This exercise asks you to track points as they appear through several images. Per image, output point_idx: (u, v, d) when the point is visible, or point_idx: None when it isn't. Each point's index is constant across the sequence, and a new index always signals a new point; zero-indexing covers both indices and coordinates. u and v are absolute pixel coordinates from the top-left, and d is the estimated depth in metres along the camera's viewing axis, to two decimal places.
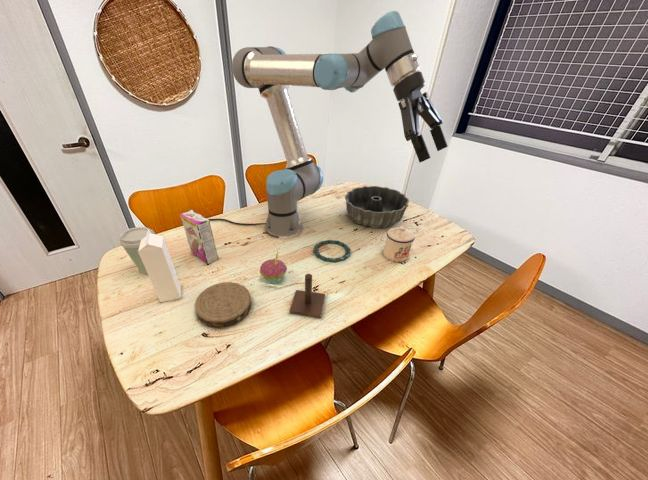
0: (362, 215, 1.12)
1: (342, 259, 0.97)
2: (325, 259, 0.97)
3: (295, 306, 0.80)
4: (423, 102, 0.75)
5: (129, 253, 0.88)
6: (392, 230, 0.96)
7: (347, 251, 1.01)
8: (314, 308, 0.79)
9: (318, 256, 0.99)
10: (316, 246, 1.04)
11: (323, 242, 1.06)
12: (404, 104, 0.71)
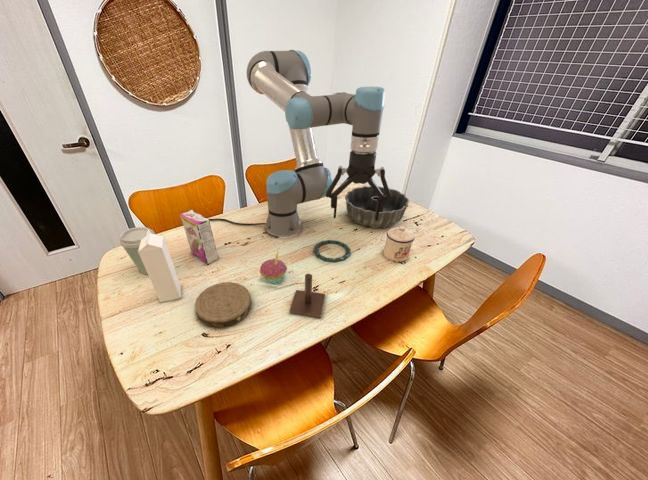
0: (362, 215, 1.12)
1: (342, 259, 0.97)
2: (325, 259, 0.97)
3: (295, 306, 0.80)
4: None
5: (129, 253, 0.88)
6: (392, 230, 0.96)
7: (347, 251, 1.01)
8: (314, 308, 0.79)
9: (318, 256, 0.99)
10: (316, 246, 1.04)
11: (323, 242, 1.06)
12: None
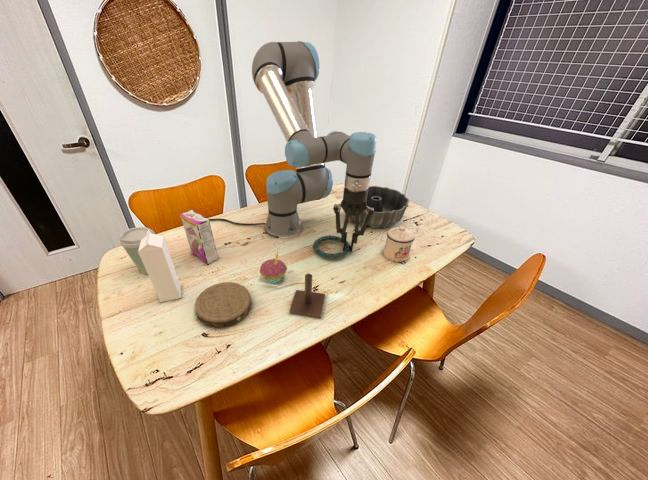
0: (362, 215, 1.12)
1: (342, 255, 0.97)
2: (324, 254, 0.97)
3: (295, 306, 0.80)
4: None
5: (129, 253, 0.88)
6: (392, 230, 0.96)
7: (347, 247, 1.00)
8: (314, 308, 0.79)
9: (317, 251, 0.98)
10: (316, 241, 1.03)
11: (323, 237, 1.05)
12: None
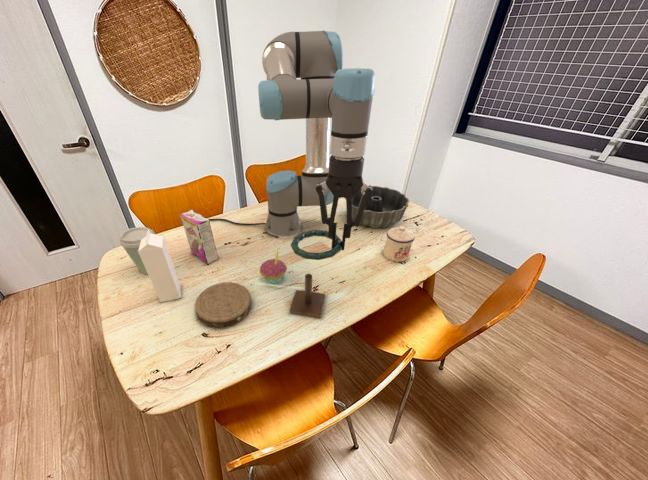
0: (362, 215, 1.12)
1: (329, 254, 0.70)
2: (306, 254, 0.70)
3: (295, 306, 0.80)
4: None
5: (129, 253, 0.88)
6: (392, 230, 0.96)
7: (337, 243, 0.73)
8: (314, 308, 0.79)
9: (296, 251, 0.72)
10: (295, 238, 0.77)
11: (306, 233, 0.79)
12: None
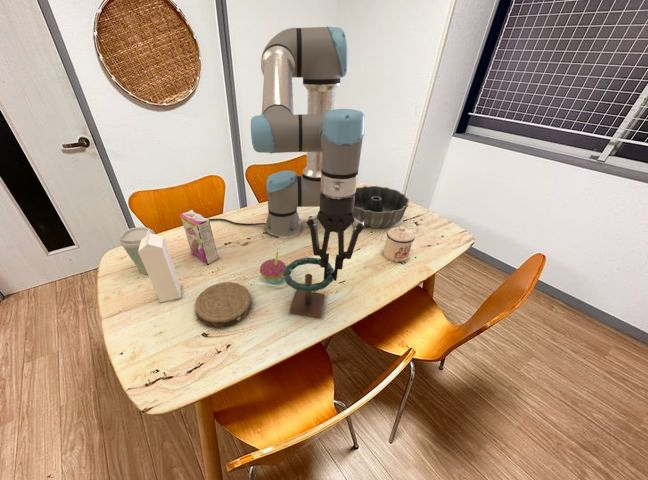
0: (362, 215, 1.12)
1: (321, 286, 0.70)
2: (297, 286, 0.70)
3: (295, 306, 0.80)
4: None
5: (129, 253, 0.88)
6: (392, 230, 0.96)
7: (329, 273, 0.73)
8: (314, 308, 0.79)
9: (288, 282, 0.72)
10: (288, 267, 0.76)
11: (299, 261, 0.79)
12: None
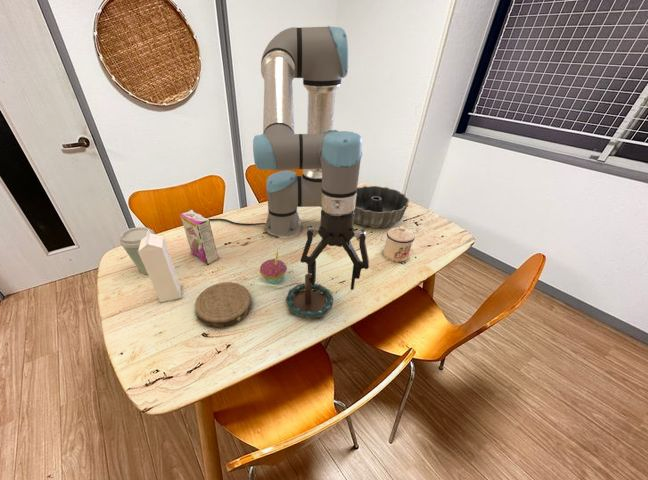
0: (362, 215, 1.12)
1: (320, 313, 0.76)
2: (298, 312, 0.76)
3: None
4: None
5: (129, 253, 0.88)
6: (392, 230, 0.96)
7: (328, 301, 0.79)
8: (314, 308, 0.79)
9: (290, 307, 0.78)
10: (290, 292, 0.83)
11: (300, 286, 0.85)
12: None
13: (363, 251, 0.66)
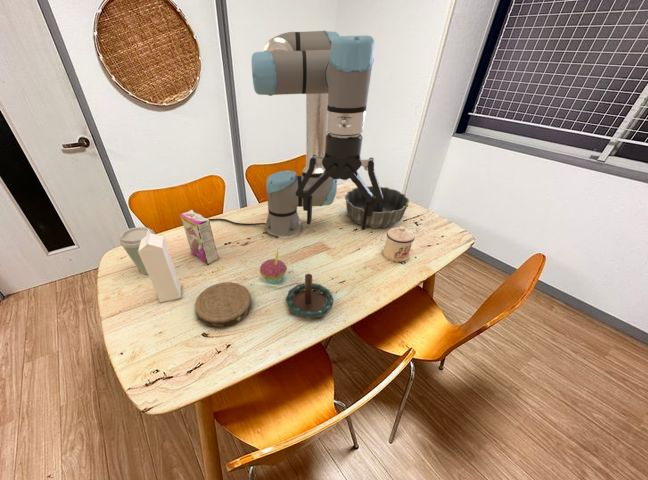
0: (362, 215, 1.12)
1: (320, 313, 0.76)
2: (298, 312, 0.76)
3: None
4: None
5: (129, 253, 0.88)
6: (392, 230, 0.96)
7: (328, 301, 0.79)
8: (314, 308, 0.79)
9: (290, 307, 0.78)
10: (290, 292, 0.83)
11: (300, 286, 0.85)
12: (310, 162, 0.62)
13: (374, 181, 0.60)
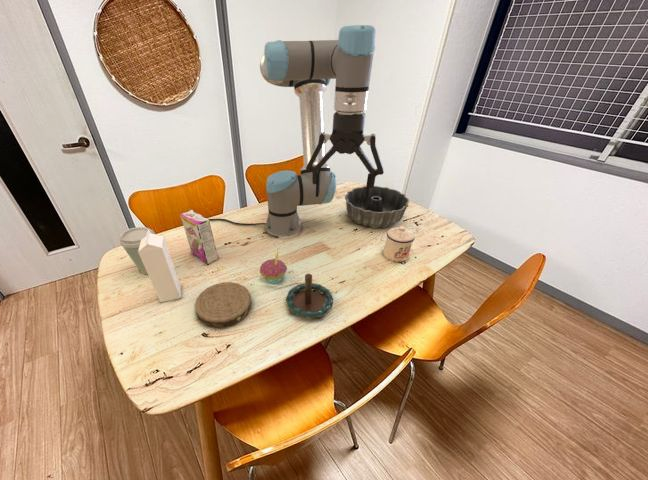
0: (362, 215, 1.12)
1: (320, 313, 0.76)
2: (298, 312, 0.76)
3: None
4: None
5: (129, 253, 0.88)
6: (392, 230, 0.96)
7: (328, 301, 0.79)
8: (314, 308, 0.79)
9: (290, 307, 0.78)
10: (290, 292, 0.83)
11: (300, 286, 0.85)
12: (319, 138, 0.70)
13: (375, 154, 0.69)
